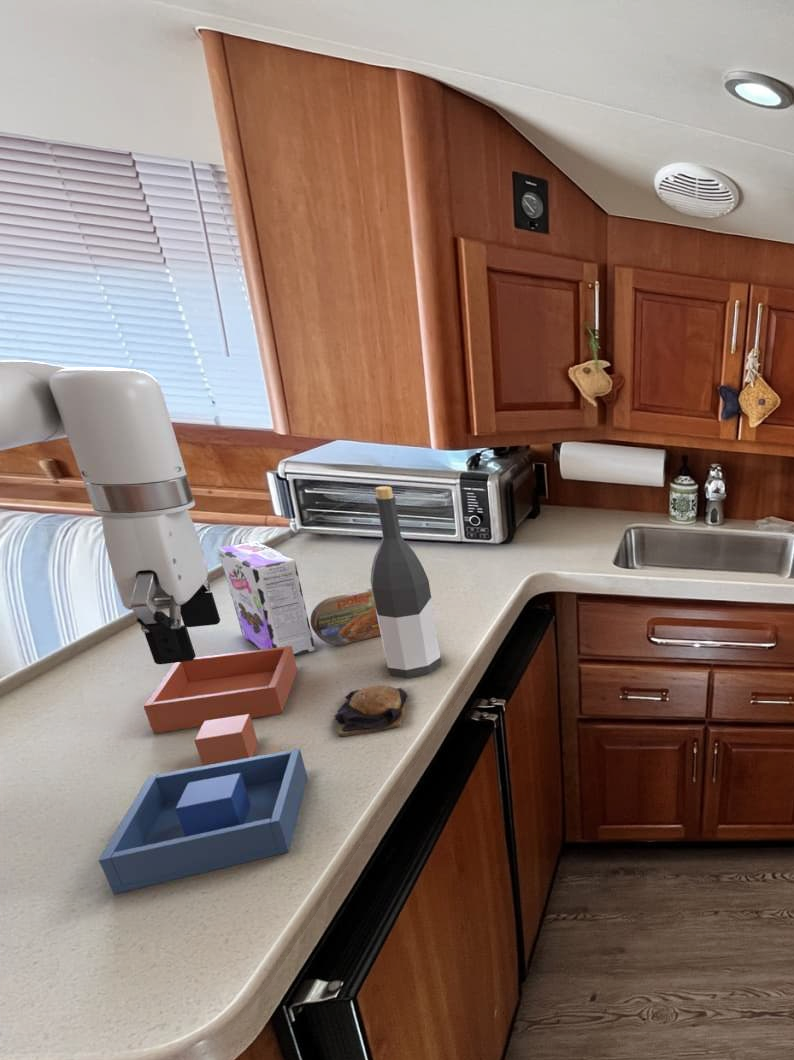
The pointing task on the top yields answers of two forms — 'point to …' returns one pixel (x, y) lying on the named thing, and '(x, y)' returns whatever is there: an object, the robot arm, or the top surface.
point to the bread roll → (371, 710)
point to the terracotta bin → (222, 688)
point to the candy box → (267, 596)
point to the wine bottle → (402, 599)
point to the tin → (346, 618)
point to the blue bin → (167, 854)
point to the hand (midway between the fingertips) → (190, 642)
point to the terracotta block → (226, 739)
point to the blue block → (213, 804)
